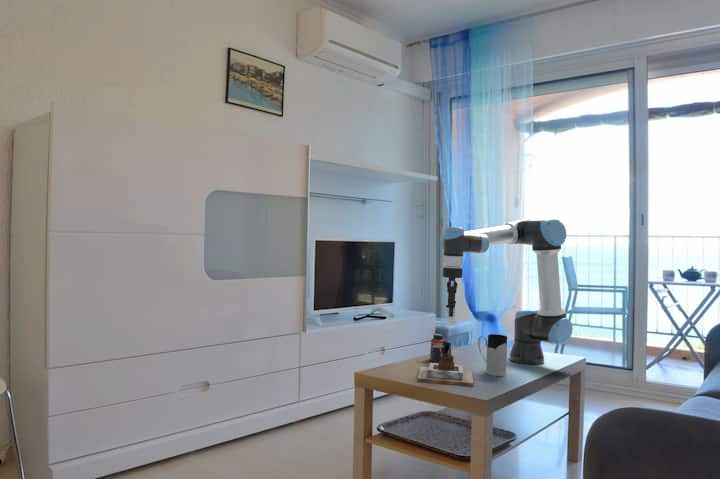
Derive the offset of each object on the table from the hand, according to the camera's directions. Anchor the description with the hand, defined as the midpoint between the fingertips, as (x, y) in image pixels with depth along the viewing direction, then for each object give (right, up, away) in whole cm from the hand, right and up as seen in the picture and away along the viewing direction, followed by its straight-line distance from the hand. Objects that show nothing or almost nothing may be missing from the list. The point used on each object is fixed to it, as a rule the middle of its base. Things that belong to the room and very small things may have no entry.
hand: (450, 322), depth 206 cm
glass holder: (+18, -22, +12) cm, 31 cm away
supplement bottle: (-1, -21, +30) cm, 37 cm away
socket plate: (-2, -21, -1) cm, 21 cm away
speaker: (-1, -21, +19) cm, 28 cm away
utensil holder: (-2, -20, -1) cm, 20 cm away
